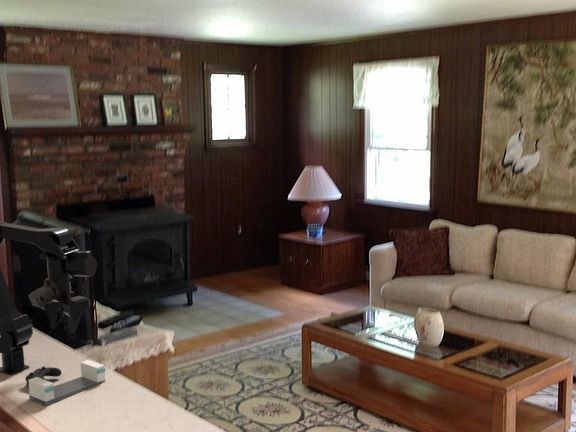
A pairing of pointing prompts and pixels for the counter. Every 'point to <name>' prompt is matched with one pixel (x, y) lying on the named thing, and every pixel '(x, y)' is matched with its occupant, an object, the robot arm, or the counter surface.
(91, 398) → the counter surface
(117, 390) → the counter surface
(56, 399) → the rail plate
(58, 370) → the game controller
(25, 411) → the counter surface
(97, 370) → the mounted modules
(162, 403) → the counter surface
